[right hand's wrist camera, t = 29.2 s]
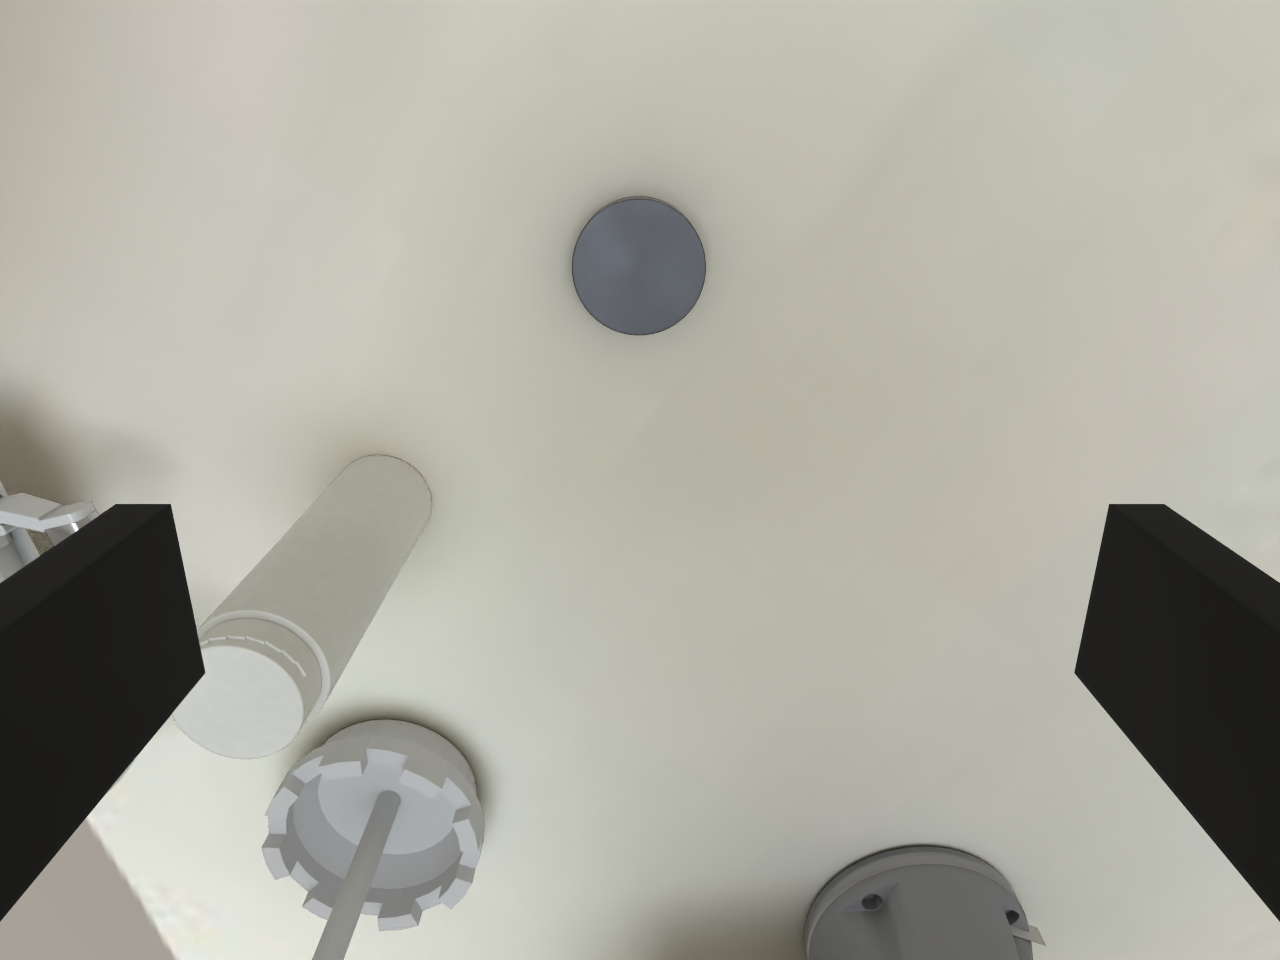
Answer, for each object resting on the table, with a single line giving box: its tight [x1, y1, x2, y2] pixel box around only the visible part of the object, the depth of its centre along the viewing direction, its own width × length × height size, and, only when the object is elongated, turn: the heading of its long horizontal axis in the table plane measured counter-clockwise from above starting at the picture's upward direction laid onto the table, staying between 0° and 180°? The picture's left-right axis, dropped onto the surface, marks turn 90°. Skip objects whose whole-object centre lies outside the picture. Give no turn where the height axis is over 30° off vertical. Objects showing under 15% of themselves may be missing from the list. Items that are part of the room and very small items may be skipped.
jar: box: [172, 455, 432, 759], centre depth 41 cm, size 6×6×20 cm
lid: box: [572, 196, 706, 335], centre depth 45 cm, size 7×7×2 cm
